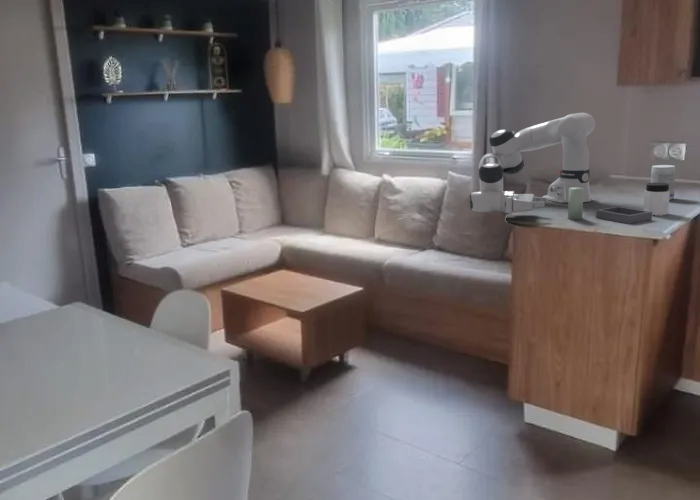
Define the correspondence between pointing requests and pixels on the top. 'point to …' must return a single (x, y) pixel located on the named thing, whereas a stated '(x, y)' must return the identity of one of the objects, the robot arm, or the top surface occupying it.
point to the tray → (623, 215)
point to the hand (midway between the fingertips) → (545, 202)
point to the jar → (657, 198)
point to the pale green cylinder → (575, 203)
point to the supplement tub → (664, 176)
